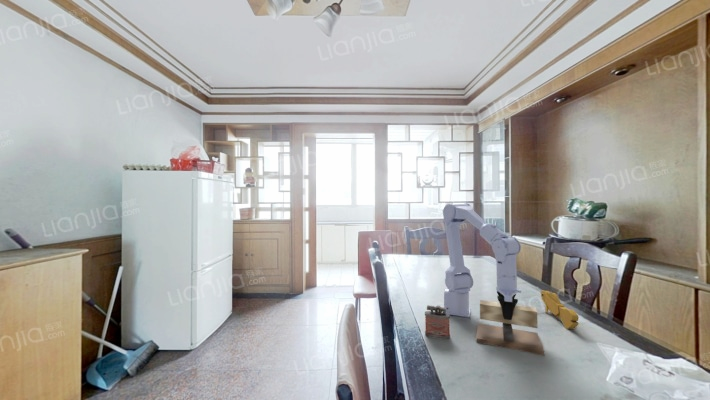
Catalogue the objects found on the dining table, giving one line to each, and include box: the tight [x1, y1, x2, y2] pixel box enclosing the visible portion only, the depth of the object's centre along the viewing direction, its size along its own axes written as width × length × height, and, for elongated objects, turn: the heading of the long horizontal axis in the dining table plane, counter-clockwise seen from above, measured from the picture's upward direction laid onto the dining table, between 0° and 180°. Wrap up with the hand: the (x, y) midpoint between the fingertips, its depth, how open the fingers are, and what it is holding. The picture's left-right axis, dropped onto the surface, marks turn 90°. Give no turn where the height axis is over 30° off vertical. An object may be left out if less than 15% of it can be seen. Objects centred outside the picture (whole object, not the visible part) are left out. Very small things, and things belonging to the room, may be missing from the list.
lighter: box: [424, 305, 451, 340], centre depth 92 cm, size 8×3×10 cm, turn 71°
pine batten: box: [479, 299, 538, 329], centre depth 89 cm, size 16×4×5 cm, turn 64°
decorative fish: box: [540, 290, 580, 330], centre depth 103 cm, size 22×3×10 cm, turn 169°
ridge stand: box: [476, 322, 545, 356], centre depth 89 cm, size 18×12×5 cm, turn 64°
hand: (507, 316), depth 89 cm, fingers closed on pine batten, 4 cm apart
